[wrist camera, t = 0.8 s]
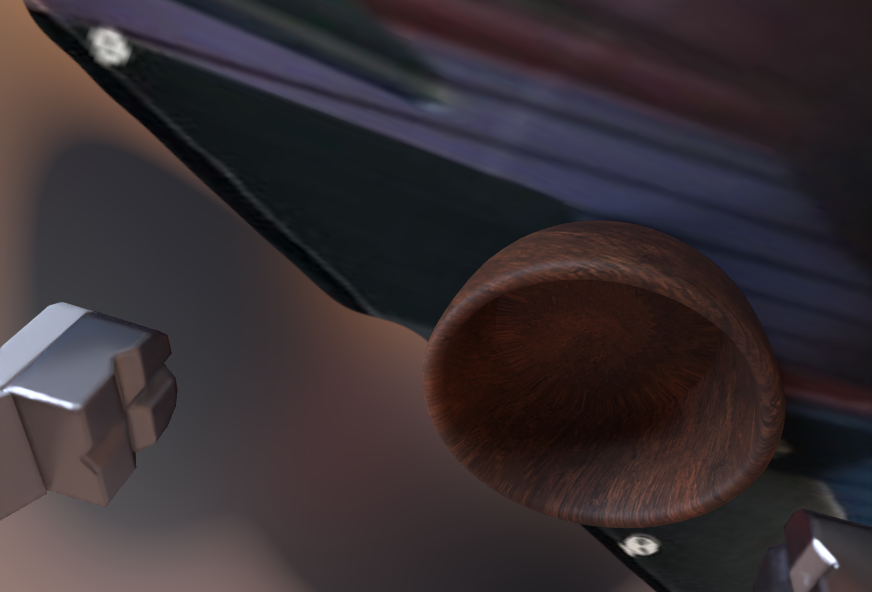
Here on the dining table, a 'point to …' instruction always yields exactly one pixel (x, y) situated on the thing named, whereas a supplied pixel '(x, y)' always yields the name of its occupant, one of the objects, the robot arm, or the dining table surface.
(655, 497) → the wooden bowl
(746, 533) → the dining table surface
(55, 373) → the robot arm
